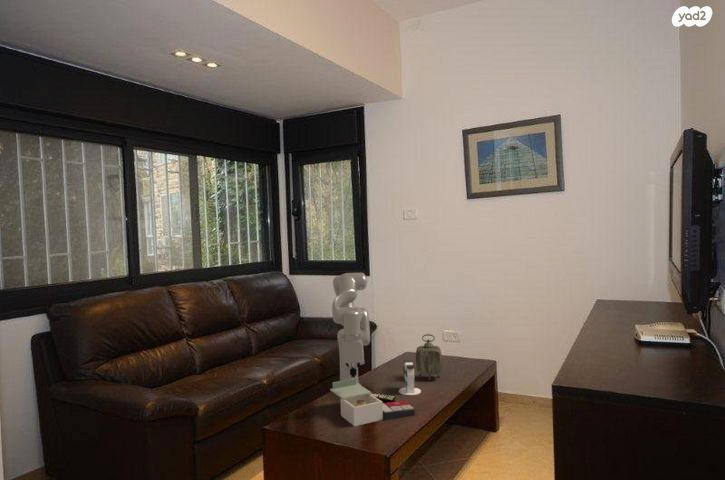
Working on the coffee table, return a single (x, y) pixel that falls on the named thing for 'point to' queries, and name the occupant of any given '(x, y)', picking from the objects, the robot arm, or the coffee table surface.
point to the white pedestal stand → (409, 379)
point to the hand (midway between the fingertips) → (353, 376)
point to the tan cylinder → (361, 402)
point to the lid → (348, 389)
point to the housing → (362, 410)
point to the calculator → (397, 410)
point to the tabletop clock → (428, 359)
